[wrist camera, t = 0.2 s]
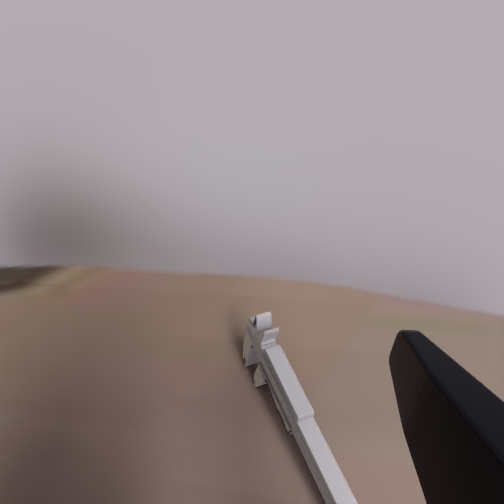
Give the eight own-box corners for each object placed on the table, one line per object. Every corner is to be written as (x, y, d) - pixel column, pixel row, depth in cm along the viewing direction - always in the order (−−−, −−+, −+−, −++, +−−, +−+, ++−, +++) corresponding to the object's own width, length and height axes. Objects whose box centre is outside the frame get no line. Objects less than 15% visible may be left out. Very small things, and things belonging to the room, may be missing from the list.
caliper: (241, 364, 29) (245, 300, 25) (254, 359, 29) (261, 296, 26) (465, 799, 14) (553, 798, 11) (487, 778, 15) (579, 770, 11)
